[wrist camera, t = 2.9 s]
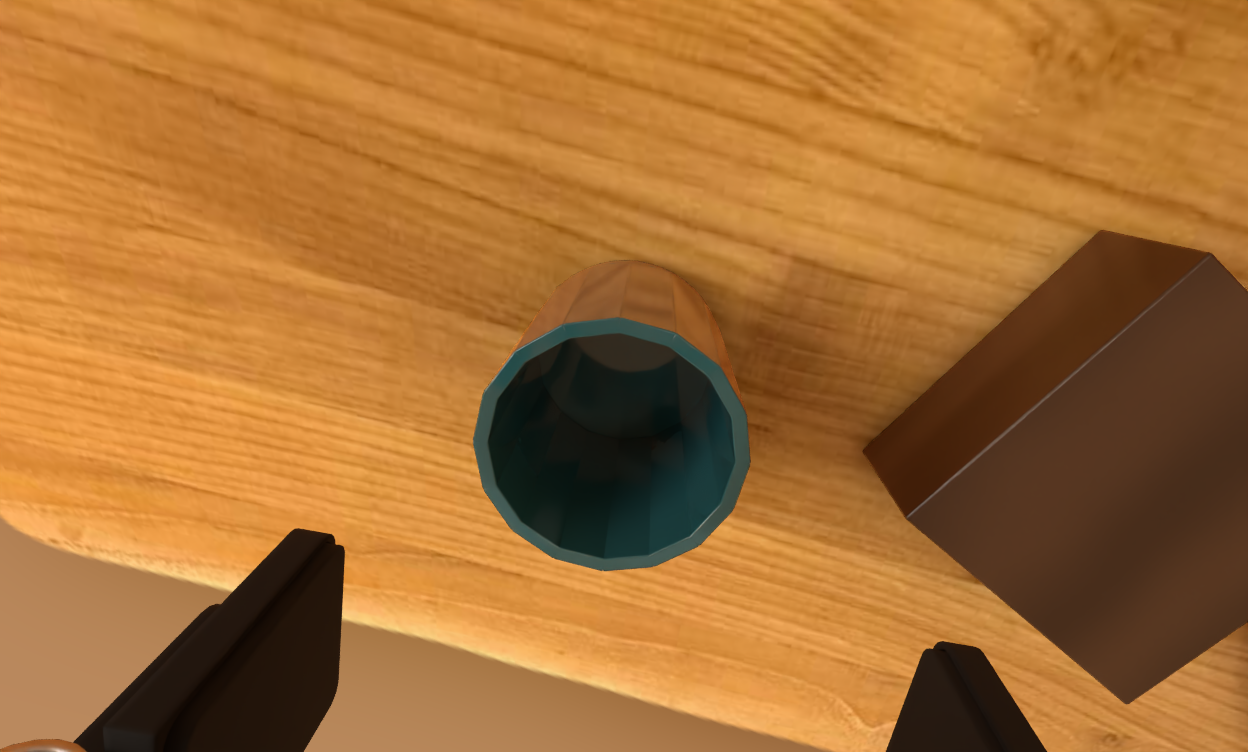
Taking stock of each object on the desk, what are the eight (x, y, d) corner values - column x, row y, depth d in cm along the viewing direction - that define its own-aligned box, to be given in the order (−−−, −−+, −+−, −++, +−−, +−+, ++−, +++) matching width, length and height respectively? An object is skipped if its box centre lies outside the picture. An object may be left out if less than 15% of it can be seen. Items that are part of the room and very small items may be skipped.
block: (860, 450, 27) (904, 518, 22) (1101, 228, 24) (1212, 251, 19) (1049, 612, 29) (1127, 706, 24) (1293, 426, 25) (1438, 491, 21)
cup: (495, 318, 26) (421, 402, 18) (662, 223, 24) (664, 266, 16) (592, 470, 27) (565, 608, 19) (753, 389, 26) (796, 502, 18)
